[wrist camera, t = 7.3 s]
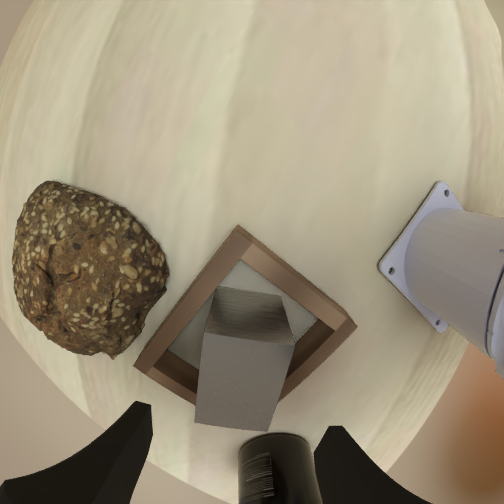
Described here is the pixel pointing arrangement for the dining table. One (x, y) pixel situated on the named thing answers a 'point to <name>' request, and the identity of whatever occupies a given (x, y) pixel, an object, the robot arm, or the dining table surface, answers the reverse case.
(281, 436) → the supplement bottle
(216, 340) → the steel bracket block
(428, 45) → the dining table surface
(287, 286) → the wooden frame
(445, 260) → the robot arm
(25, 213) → the bread roll
